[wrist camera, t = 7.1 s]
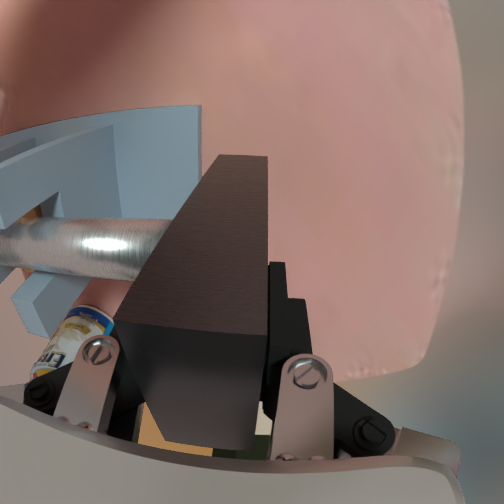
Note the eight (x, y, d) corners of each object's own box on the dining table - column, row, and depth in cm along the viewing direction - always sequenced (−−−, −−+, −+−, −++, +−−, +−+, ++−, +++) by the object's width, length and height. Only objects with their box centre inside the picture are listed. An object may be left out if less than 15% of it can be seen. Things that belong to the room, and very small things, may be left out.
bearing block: (25, 234, 27) (-51, 309, 15) (6, 134, 21) (-95, 183, 8) (203, 243, 26) (158, 373, 14) (201, 105, 20) (111, 128, 8)
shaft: (47, 231, 21) (-60, 345, 9) (33, 165, 18) (-104, 260, 6) (262, 241, 21) (252, 451, 8) (267, 156, 18) (267, 335, 5)
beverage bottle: (105, 355, 36) (55, 477, 19) (60, 316, 33) (-8, 435, 16) (138, 337, 33) (84, 485, 16) (88, 291, 30) (3, 436, 13)
